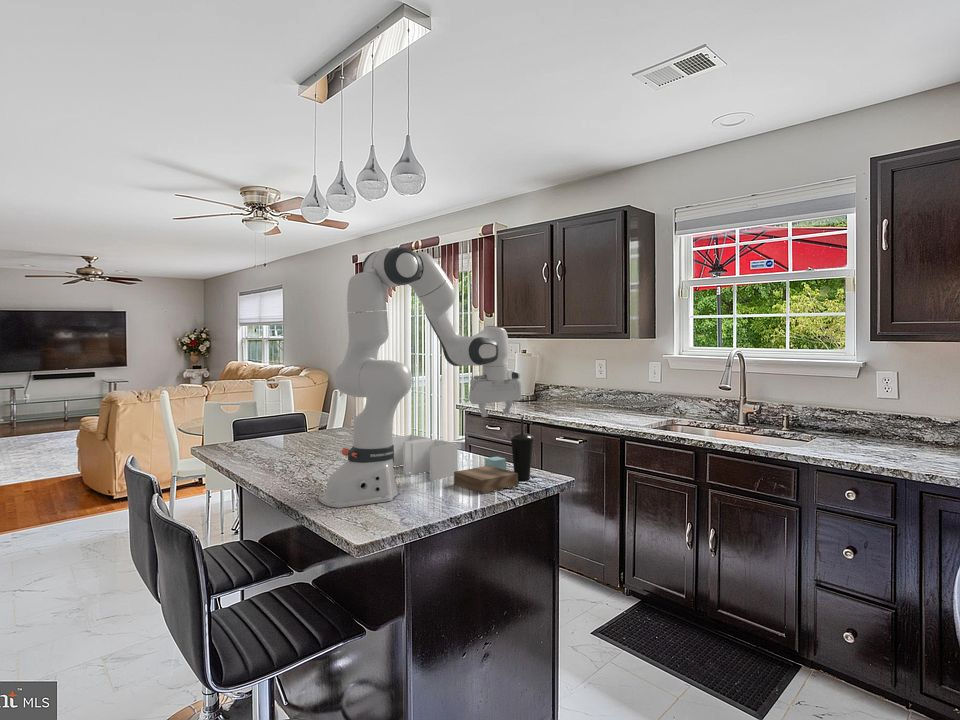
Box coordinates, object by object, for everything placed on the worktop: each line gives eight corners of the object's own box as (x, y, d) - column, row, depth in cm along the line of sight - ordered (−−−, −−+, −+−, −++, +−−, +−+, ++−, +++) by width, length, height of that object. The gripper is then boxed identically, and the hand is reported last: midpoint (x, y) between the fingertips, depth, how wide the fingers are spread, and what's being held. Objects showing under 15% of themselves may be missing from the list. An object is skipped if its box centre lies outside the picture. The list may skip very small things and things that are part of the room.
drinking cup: (535, 481, 176) (535, 418, 175) (511, 481, 175) (511, 418, 175) (532, 475, 183) (532, 415, 183) (509, 476, 183) (509, 415, 183)
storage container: (457, 476, 184) (457, 443, 184) (431, 481, 177) (431, 447, 176) (411, 464, 202) (411, 434, 202) (386, 469, 195) (386, 438, 194)
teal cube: (494, 475, 184) (494, 460, 184) (485, 473, 188) (485, 458, 188) (506, 473, 187) (506, 458, 187) (496, 470, 191) (496, 456, 191)
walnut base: (481, 493, 161) (481, 480, 161) (454, 484, 172) (454, 471, 172) (517, 486, 170) (517, 473, 170) (489, 477, 181) (489, 465, 181)
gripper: (476, 376, 178) (476, 419, 178) (524, 373, 190) (524, 413, 191) (464, 375, 183) (465, 417, 183) (511, 372, 195) (512, 412, 196)
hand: (495, 415), depth 187 cm, fingers open, 8 cm apart
